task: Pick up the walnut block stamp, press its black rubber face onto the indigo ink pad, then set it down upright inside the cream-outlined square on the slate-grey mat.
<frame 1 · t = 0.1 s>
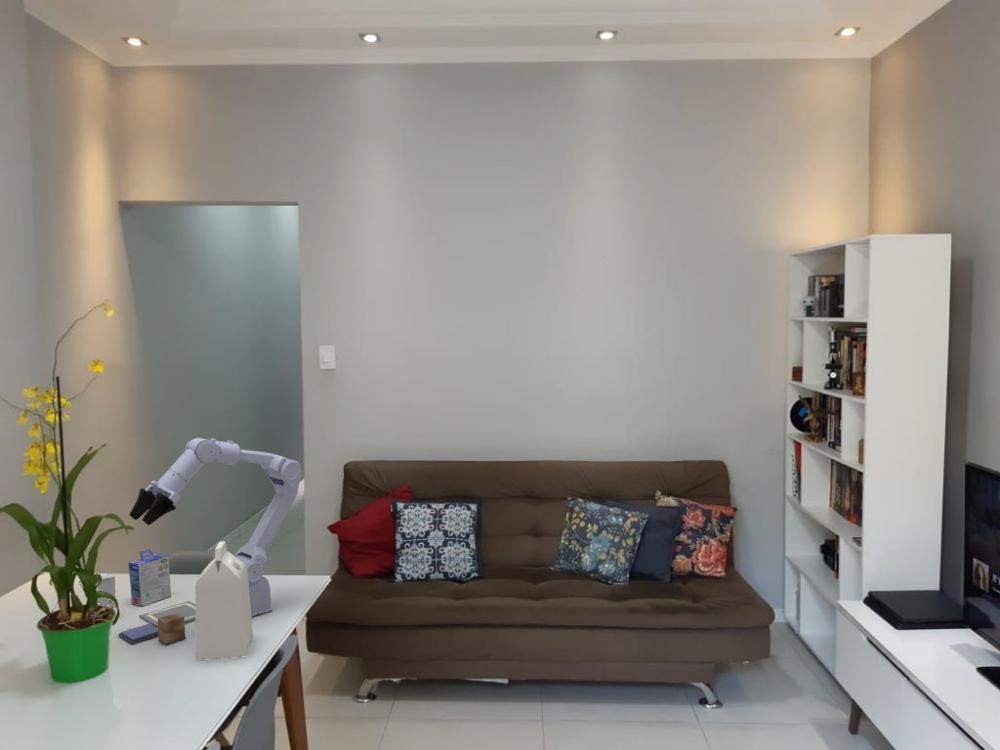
hand: (138, 520, 194), 32 cm above the table, tool tilted 50°, fingers open, 7 cm apart
stamp: (172, 640, 200), on the table
ink pad: (141, 635, 203), on the table
ink cartridge box: (151, 600, 229), on the table
milk: (225, 649, 194), on the table
skincare box: (104, 620, 214), on the table
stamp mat: (176, 616, 216), on the table
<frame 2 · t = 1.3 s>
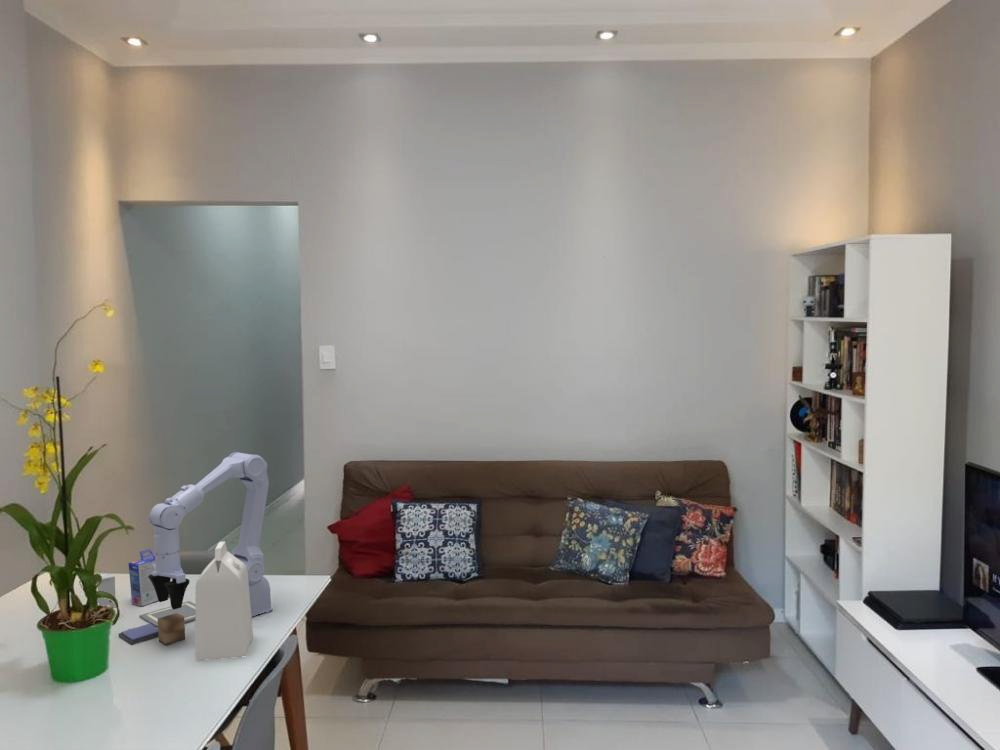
hand: (170, 604, 199), 9 cm above the table, tool pointing down, fingers open, 7 cm apart
nothing on the table moved.
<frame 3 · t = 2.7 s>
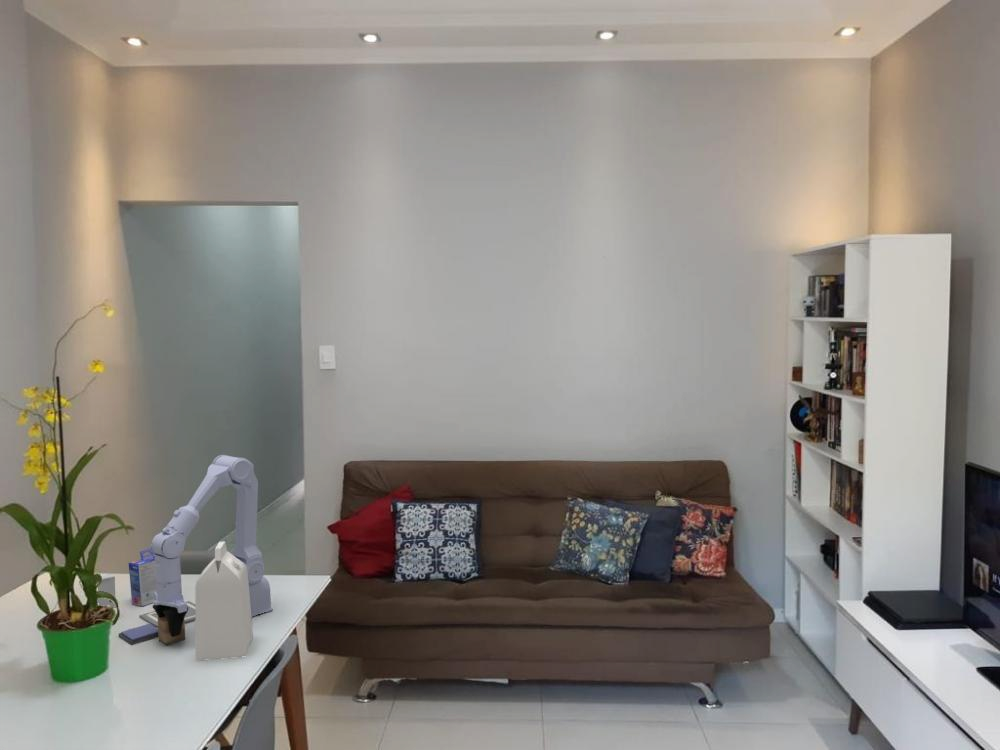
hand: (171, 633, 200), 2 cm above the table, tool pointing down, fingers closed on stamp, 4 cm apart
stamp: (172, 640, 200), on the table, touching gripper
everything else where it was.
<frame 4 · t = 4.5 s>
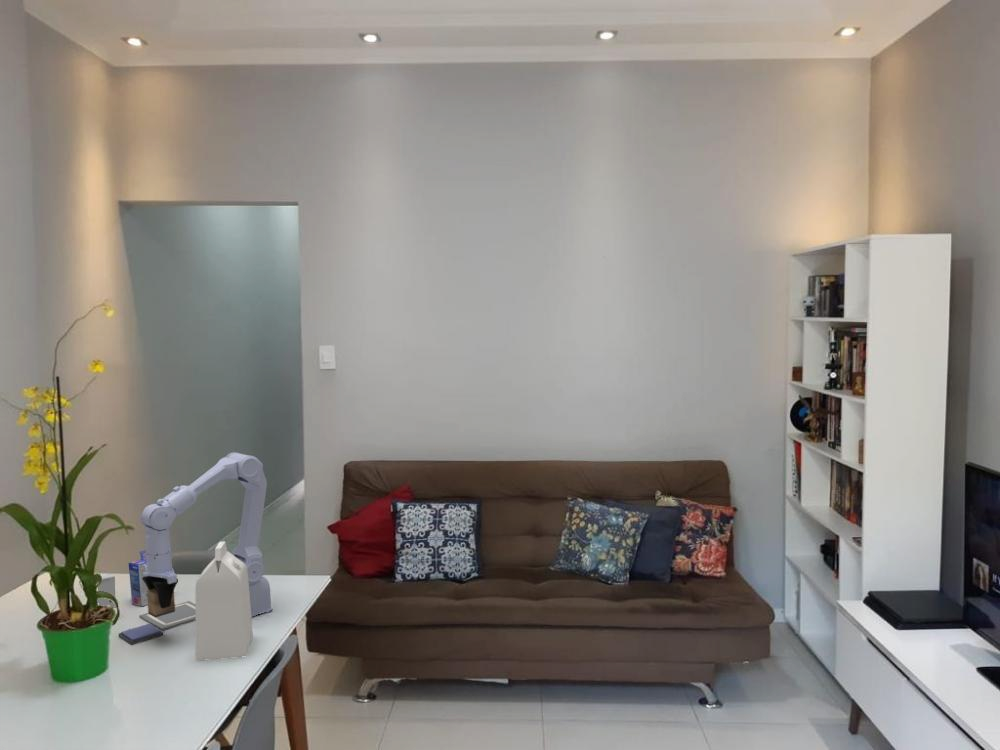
hand: (161, 604, 200), 9 cm above the table, tool pointing down, fingers closed on stamp, 4 cm apart
stamp: (161, 612, 200), point 7 cm above the table, touching gripper
everything else where it was.
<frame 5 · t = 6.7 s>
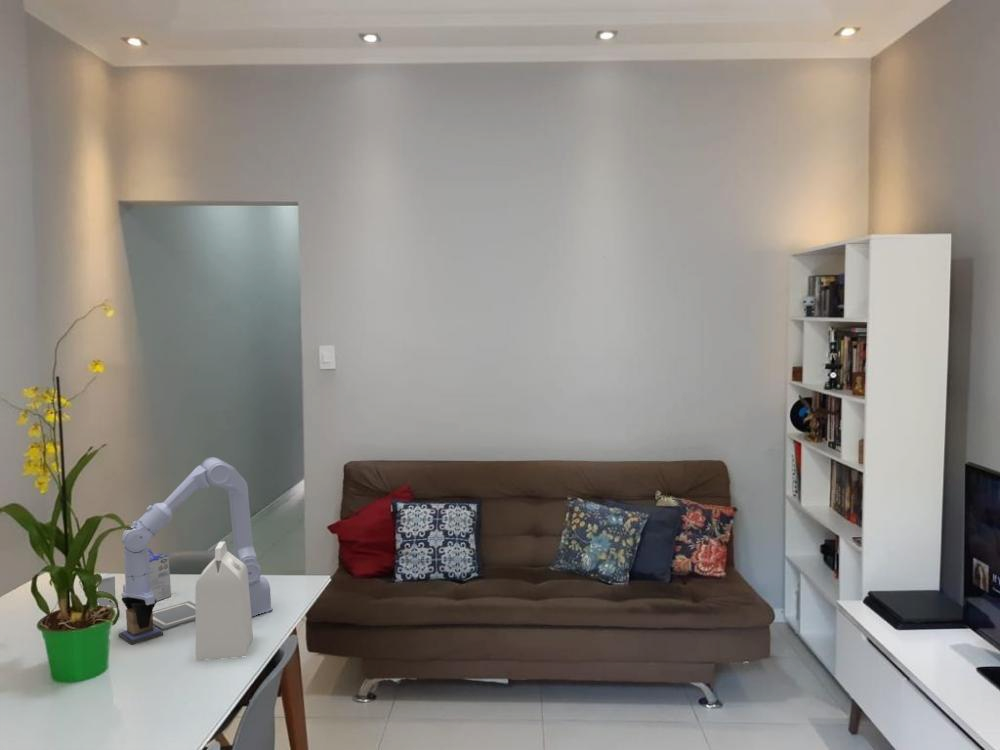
hand: (140, 625, 203), 3 cm above the table, tool pointing down, fingers closed on stamp, 4 cm apart
stamp: (140, 631, 203), point 1 cm above the table, touching gripper, ink pad
everything else where it was.
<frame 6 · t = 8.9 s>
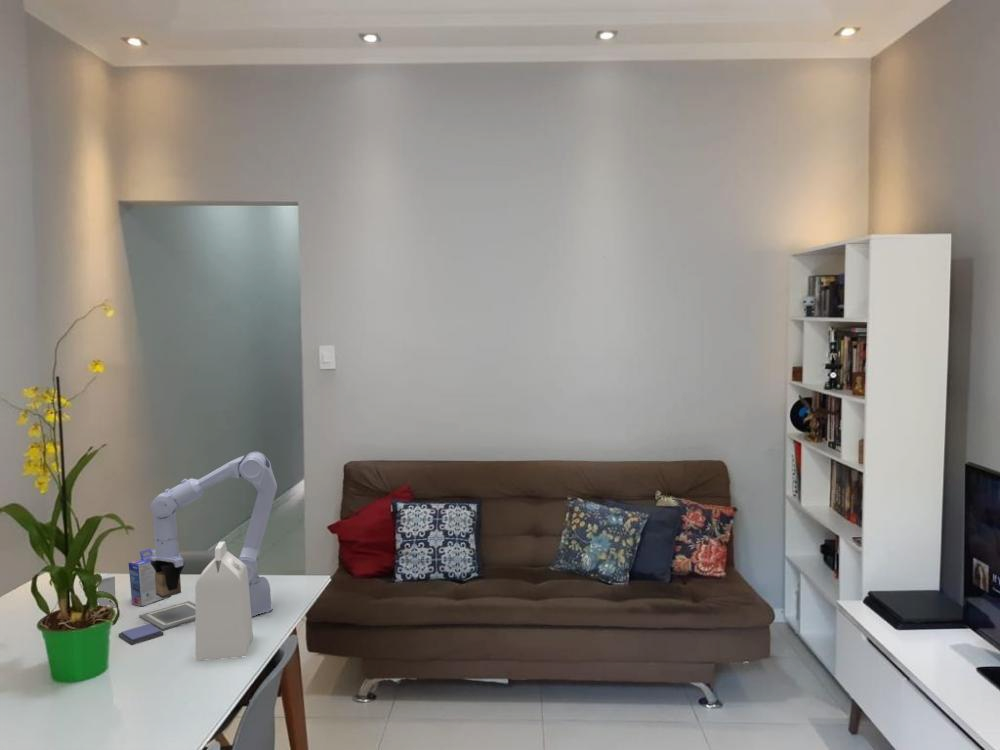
hand: (168, 587, 213), 9 cm above the table, tool pointing down, fingers closed on stamp, 4 cm apart
stamp: (168, 593, 213), point 7 cm above the table, touching gripper
everything else where it was.
when the fingers open (3 cm above the table, at t = 10.9 s): stamp stays where it is, resting on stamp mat.
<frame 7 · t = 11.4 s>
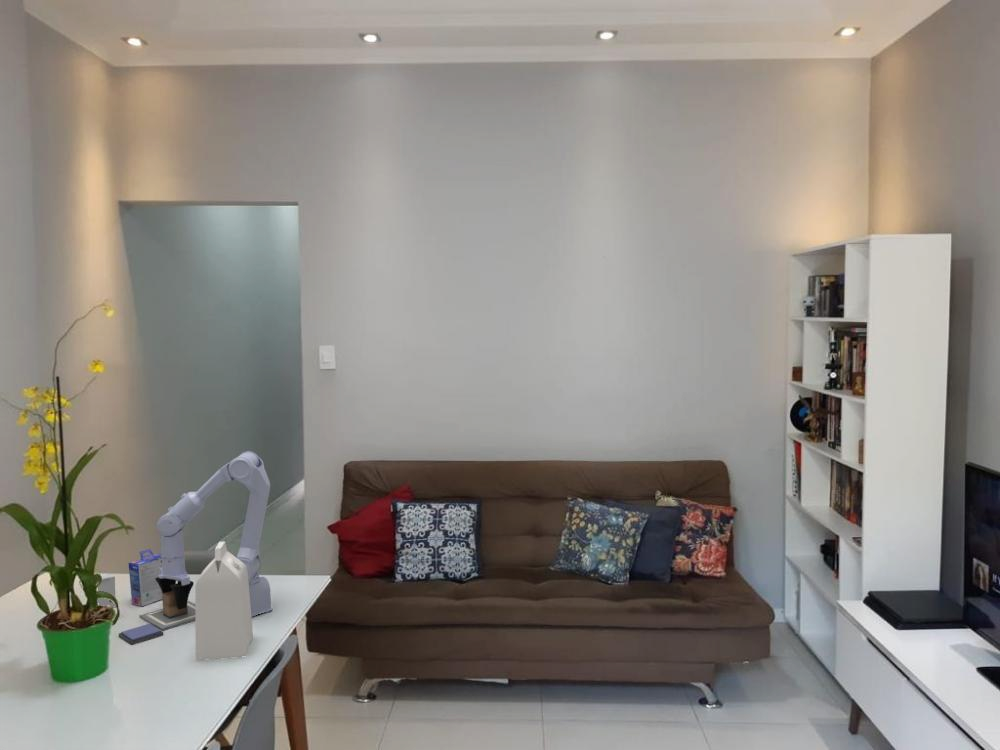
hand: (175, 604, 216), 3 cm above the table, tool pointing down, fingers open, 7 cm apart
stamp: (175, 614, 216), point 1 cm above the table, touching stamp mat
everything else where it was.
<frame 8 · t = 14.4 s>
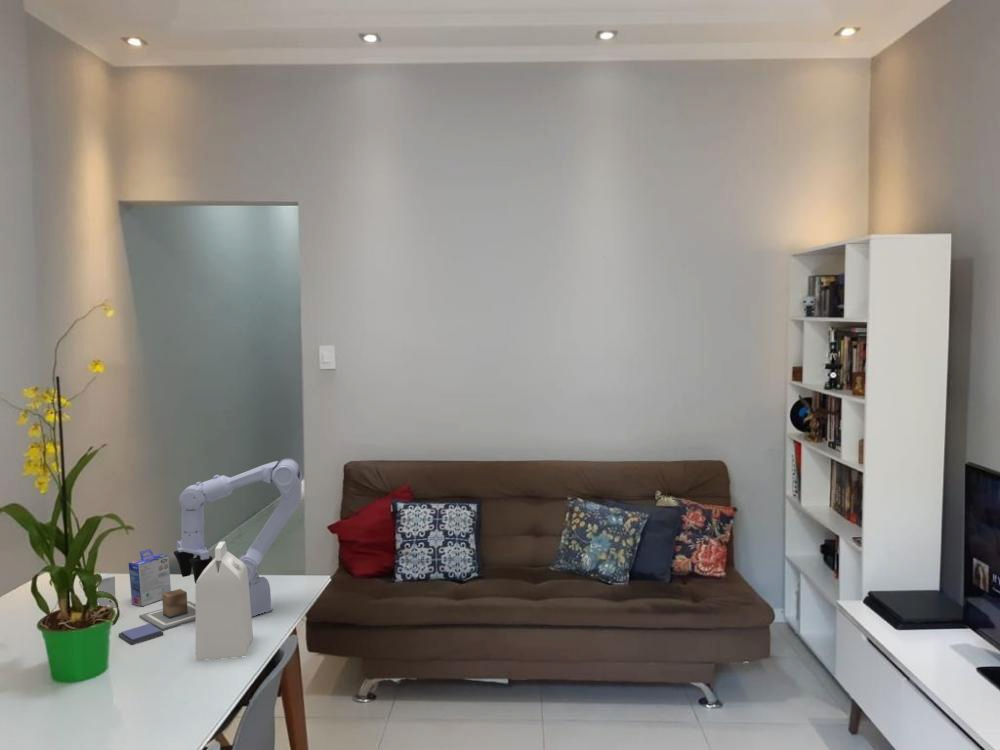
hand: (192, 579, 214), 10 cm above the table, tool pointing down, fingers open, 7 cm apart
nothing on the table moved.
at the end: stamp inside the target area on the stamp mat (0.2 cm from its centre), point 0.6 cm above the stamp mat's base; stamp tilted 0°; the gripper is holding nothing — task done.
